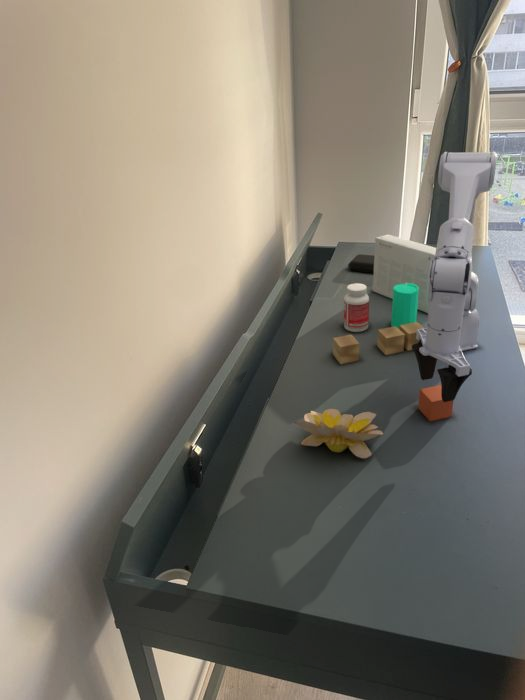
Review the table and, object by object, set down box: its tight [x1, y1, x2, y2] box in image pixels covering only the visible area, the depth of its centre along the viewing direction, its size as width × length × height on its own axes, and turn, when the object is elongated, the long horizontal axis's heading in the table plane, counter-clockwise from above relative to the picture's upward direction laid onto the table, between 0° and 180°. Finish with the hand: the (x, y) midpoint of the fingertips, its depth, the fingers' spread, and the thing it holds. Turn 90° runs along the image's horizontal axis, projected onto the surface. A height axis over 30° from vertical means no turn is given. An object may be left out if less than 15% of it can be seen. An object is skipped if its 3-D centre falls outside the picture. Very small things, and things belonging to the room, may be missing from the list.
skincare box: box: [372, 233, 436, 314], centre depth 141 cm, size 21×5×16 cm, turn 34°
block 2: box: [376, 326, 405, 356], centre depth 122 cm, size 4×4×4 cm
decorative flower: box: [293, 408, 384, 459], centre depth 93 cm, size 15×11×10 cm
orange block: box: [417, 384, 454, 422], centre depth 100 cm, size 4×4×4 cm
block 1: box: [332, 334, 360, 365], centre depth 120 cm, size 4×4×4 cm
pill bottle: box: [343, 282, 370, 333], centre depth 131 cm, size 6×6×11 cm
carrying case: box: [347, 253, 375, 274], centre depth 166 cm, size 11×3×15 cm
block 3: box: [399, 321, 425, 351], centre depth 123 cm, size 4×4×4 cm
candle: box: [390, 282, 419, 329], centre depth 129 cm, size 6×6×12 cm
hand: (437, 389), depth 98 cm, fingers open, 7 cm apart
